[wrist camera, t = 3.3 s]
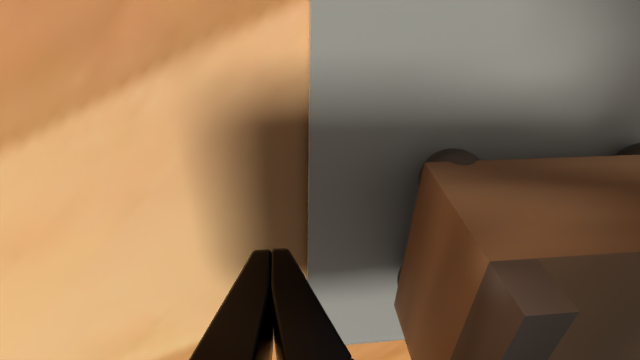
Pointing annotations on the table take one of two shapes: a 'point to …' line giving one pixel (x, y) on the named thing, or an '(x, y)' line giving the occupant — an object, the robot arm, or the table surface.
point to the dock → (445, 118)
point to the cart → (523, 259)
